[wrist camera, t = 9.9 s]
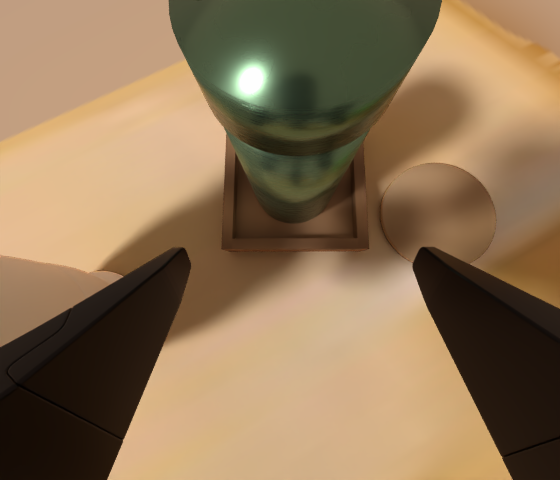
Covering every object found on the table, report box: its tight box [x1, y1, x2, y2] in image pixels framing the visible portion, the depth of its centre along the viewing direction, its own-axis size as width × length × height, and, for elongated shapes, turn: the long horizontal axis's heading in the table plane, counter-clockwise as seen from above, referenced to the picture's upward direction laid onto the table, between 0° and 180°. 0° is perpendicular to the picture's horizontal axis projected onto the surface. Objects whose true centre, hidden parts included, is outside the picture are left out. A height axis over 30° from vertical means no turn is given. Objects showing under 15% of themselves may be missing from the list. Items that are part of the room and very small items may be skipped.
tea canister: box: [169, 0, 442, 224], centre depth 11 cm, size 7×7×12 cm
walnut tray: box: [222, 133, 369, 251], centre depth 18 cm, size 11×11×2 cm
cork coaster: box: [380, 163, 496, 264], centre depth 18 cm, size 9×9×1 cm
